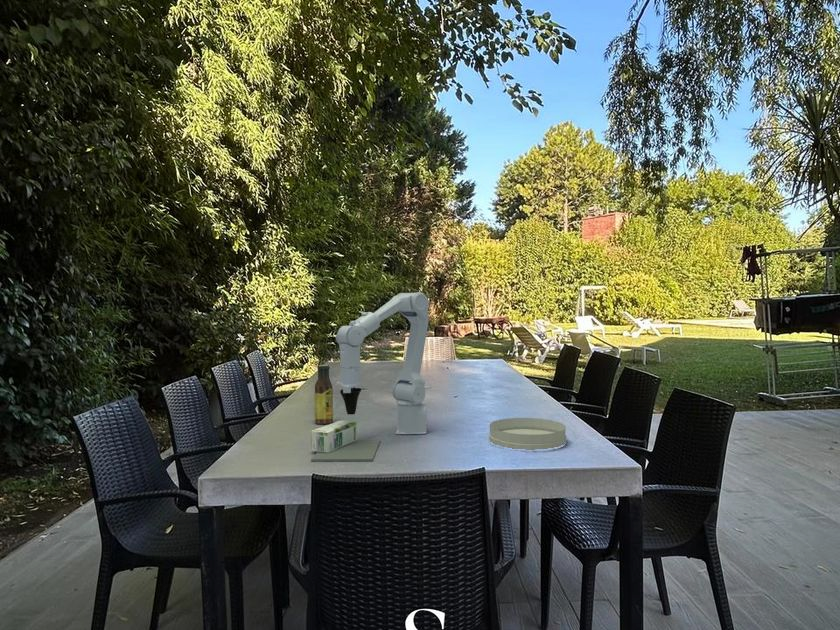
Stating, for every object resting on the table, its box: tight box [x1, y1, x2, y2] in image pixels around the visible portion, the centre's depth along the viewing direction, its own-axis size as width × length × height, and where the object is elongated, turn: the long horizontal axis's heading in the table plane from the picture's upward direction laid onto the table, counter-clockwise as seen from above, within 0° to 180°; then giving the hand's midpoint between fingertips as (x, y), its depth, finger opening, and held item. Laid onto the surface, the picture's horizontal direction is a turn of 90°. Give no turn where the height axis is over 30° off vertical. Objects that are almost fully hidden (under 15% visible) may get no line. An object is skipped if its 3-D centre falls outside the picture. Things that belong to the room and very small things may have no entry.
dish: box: [488, 417, 567, 450], centre depth 159 cm, size 22×22×5 cm
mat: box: [310, 440, 381, 463], centre depth 151 cm, size 16×18×1 cm
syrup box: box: [310, 420, 357, 453], centre depth 155 cm, size 6×6×14 cm
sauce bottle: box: [314, 364, 334, 425], centre depth 188 cm, size 6×6×20 cm
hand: (351, 414), depth 158 cm, fingers closed
